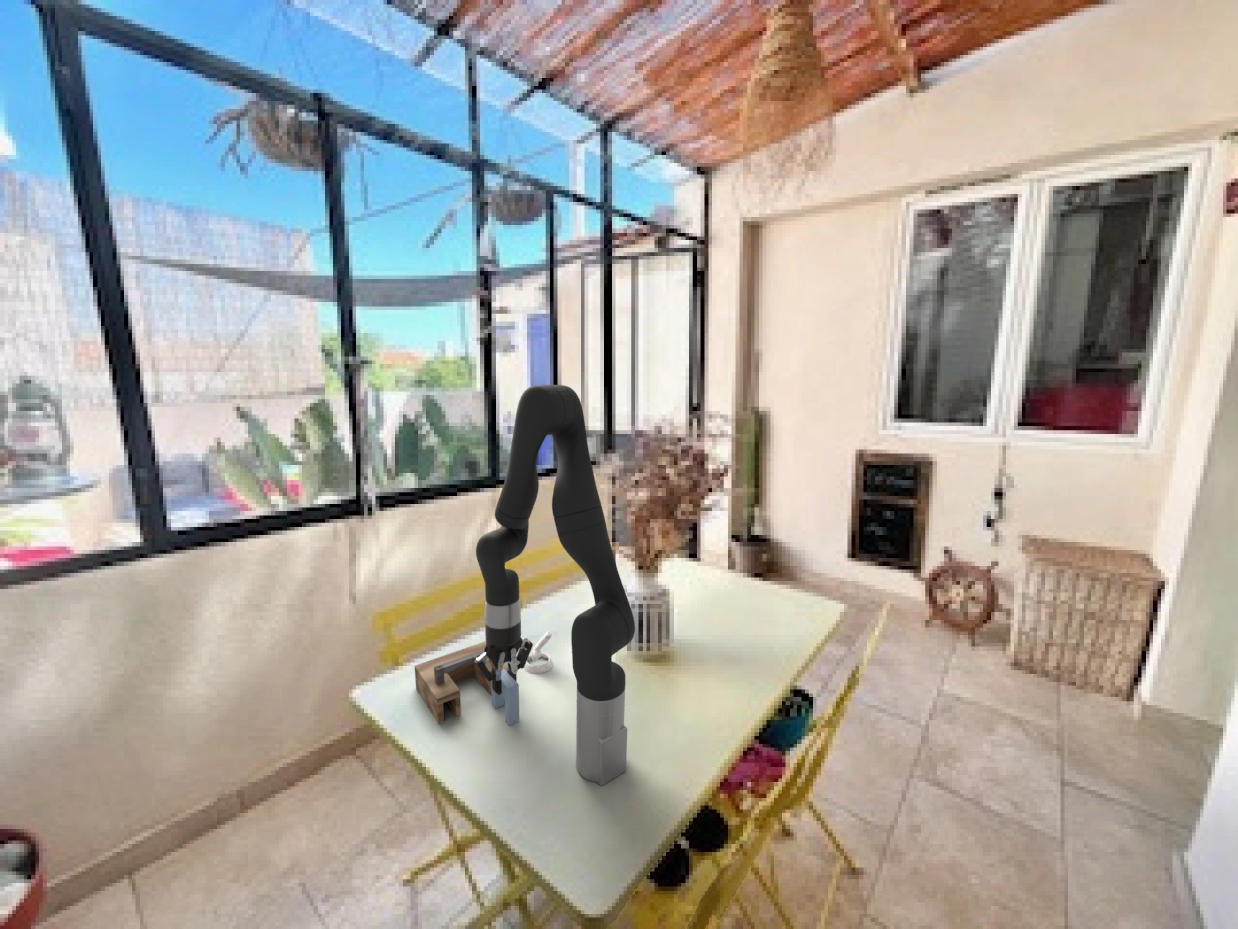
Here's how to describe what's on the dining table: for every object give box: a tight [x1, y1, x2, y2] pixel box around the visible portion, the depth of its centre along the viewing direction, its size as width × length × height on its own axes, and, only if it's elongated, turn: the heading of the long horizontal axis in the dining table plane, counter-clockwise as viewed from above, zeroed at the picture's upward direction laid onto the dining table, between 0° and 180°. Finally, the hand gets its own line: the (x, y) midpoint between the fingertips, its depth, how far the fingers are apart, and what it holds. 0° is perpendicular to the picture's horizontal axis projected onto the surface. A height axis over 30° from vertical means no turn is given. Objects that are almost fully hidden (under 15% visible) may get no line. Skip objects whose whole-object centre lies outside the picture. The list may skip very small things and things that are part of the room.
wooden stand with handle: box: [414, 640, 509, 725], centre depth 119 cm, size 15×18×10 cm
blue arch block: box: [491, 668, 520, 726], centre depth 112 cm, size 8×2×9 cm, turn 39°
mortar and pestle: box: [523, 630, 554, 675], centre depth 130 cm, size 8×12×7 cm
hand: (504, 689), depth 111 cm, fingers closed on blue arch block, 2 cm apart
